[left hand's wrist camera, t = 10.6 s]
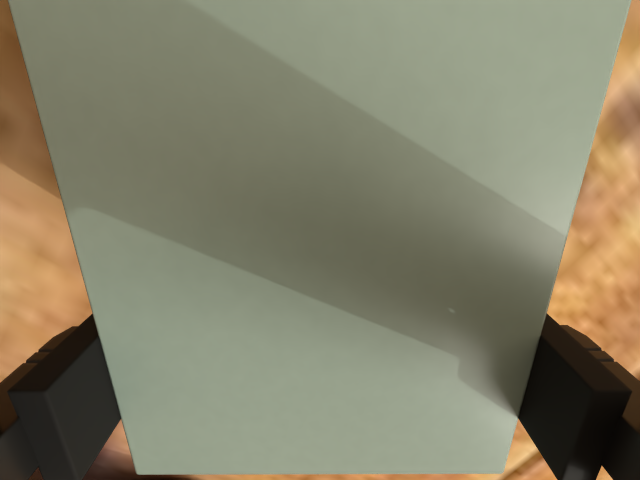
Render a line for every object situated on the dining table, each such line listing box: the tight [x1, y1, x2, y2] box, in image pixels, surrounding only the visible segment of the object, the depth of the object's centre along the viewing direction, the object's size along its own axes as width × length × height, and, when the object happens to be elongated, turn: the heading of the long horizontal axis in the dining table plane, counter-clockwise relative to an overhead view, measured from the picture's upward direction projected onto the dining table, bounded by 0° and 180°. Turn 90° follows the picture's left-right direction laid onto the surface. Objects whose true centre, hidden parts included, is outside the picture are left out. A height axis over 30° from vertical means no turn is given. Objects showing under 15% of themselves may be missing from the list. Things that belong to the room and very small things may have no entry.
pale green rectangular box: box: [8, 0, 631, 475], centre depth 12 cm, size 19×11×10 cm, turn 0°
